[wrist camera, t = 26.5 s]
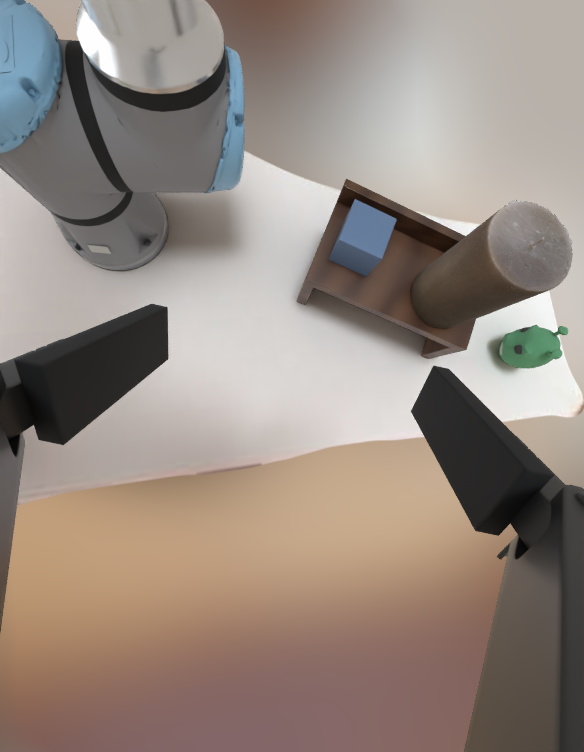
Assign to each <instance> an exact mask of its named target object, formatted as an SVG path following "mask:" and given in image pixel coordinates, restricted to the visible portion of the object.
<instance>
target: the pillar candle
mask: <svg viewBox="0 0 584 752" xmlns="http://www.w3.org/2000/svg"><path fill="white" fill-rule="evenodd" d="M571 245H572V241H571V239H570V238H569V233H568V231H567V229H566V228H565V227H564V225H562V224H561V223H560V222H559V220H558V218H557V217H556V216H555V215H553V214H552V213H551V212H550V211H549V210H548V209H546V208H544V207H542V206H539V205H538V204H535V203H531V202H526V201H524V202H521V201H520V202H518V201H517V200H516V201H512V202H510V203H509V204H508V205H507V206H504V207H503V208H502V209H500V210H499V211H498V212H496V213H495V214H494V215H493V216H491V217H490V218H489V219H487V220H486V221H485V222H484V223H482V224H481V225H480V226H478V227H477V228H476V229H475V230H473V231H472V232H471V233H470V234H468V235H467V236H466V237H465V238H463V239H462V240H461V241H460V242H458V243H457V244H456V245H454V246H453V247H452V248H450V249H449V250H448V251H446V252H445V253H444V254H443V255H442V256H440V257H439V258H438V259H437V260H435V261H434V262H432V263H431V264H430V265H429V266H427V267H426V268H425V269H424V270H423V271H422V272H421V273H420V274H419V275H418V276H417V277H416V279H415V280H414V282H413V285H412V290H411V302H412V305H413V308H414V310H415V312H416V314H418V316H419V318H420V319H421V320H422V321H424V322H425V323H427V324H428V325H430V326H432V327H434V328H443V329H448V328H452V327H455V326H458V325H461V324H463V323H466V322H468V321H471V320H474V319H476V318H479V317H481V316H484V315H487V314H489V313H492V312H494V311H497V310H499V309H502V308H504V307H507V306H509V305H512V304H515V303H517V302H520V301H522V300H525V299H528V298H530V297H533V296H536V295H538V294H541V293H543V292H546V291H548V290H551V289H553V288H555V287H556V286H558V285H559V284H560V283H561V282H562V281H563V280H564V279H565V277H566V276H567V274H568V271H569V269H570V267H571V262H572V246H571Z"/></svg>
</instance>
